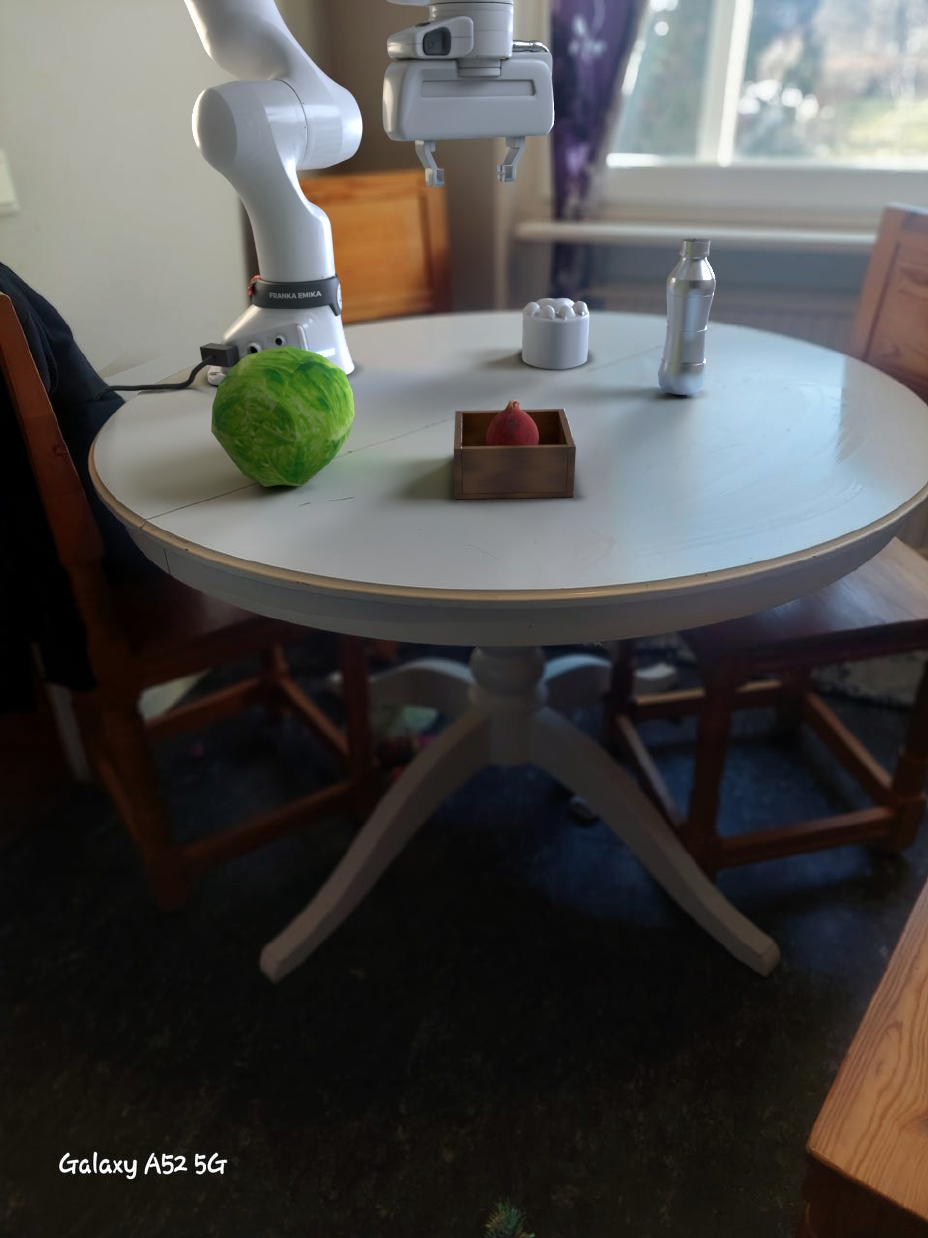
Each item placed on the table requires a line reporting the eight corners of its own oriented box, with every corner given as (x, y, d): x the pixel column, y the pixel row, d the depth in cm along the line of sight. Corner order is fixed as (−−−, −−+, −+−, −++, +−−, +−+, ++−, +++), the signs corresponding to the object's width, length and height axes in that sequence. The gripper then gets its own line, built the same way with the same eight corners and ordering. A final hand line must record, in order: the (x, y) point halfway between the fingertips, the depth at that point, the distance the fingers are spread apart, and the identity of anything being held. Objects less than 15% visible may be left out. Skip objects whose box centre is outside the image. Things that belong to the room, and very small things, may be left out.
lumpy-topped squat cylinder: (582, 347, 146) (585, 293, 141) (591, 368, 135) (594, 310, 130) (520, 348, 146) (521, 294, 142) (524, 369, 135) (525, 311, 131)
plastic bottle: (677, 402, 119) (693, 245, 109) (646, 390, 124) (659, 239, 114) (713, 395, 122) (733, 240, 111) (682, 383, 127) (698, 235, 117)
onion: (534, 482, 95) (535, 409, 90) (482, 479, 96) (481, 407, 91) (541, 462, 99) (542, 393, 95) (491, 460, 100) (490, 391, 96)
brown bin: (455, 499, 93) (453, 449, 90) (456, 457, 103) (455, 410, 100) (573, 497, 92) (576, 446, 89) (562, 455, 103) (564, 408, 100)
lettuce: (256, 452, 113) (370, 471, 112) (181, 480, 92) (321, 504, 90) (263, 334, 108) (383, 353, 107) (186, 335, 87) (334, 359, 86)
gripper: (536, 40, 99) (532, 176, 107) (372, 38, 91) (380, 186, 98) (568, 39, 95) (561, 180, 102) (399, 36, 86) (404, 191, 93)
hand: (471, 183), depth 100 cm, fingers open, 8 cm apart
